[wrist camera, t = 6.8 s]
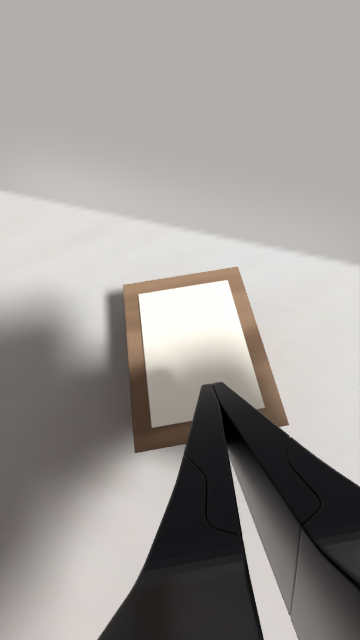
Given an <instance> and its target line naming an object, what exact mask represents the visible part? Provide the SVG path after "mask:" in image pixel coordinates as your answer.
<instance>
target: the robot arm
mask: <svg viewBox="0 0 360 640" xmlns="http://www.w3.org/2000/svg"><path fill="white" fill-rule="evenodd" d="M229 457H230V460H231V462H232V465H233V468H234V470H235V473H236V476H237V478H238V481H239V484H240V486H241V489H242V492H243V494H244V497H245V499H246V502H247V505H248V507H249V510H250V513H251V515H252V518H253V521H254V523H255V526H256V528H257V531H258V534H259V536H260V539H261V542H262V544H263V547H264V550H265V552H266V555H267V558H268V560H269V563H270V565H271V568H272V571H273V573H274V576H275V579H276V581H277V584H278V587H279V589H280V592H281V595H282V597H283V600H284V602H285V605H286V608H287V610H288V613H289V615H290V616H291V621H292V624H293V626H294V629H295V632H296V634H297V637H298V640H360V486H358V485H357V484H355V483H354V482H352V481H351V480H349V479H348V478H346V477H345V476H343V475H342V474H340V473H339V472H337V471H336V470H335V469H333V468H332V467H330V466H329V465H327V464H326V463H325V462H323V461H322V460H320V459H319V458H317V457H316V456H315V455H314V454H312V453H311V452H310V451H308V450H307V449H306V448H304V447H303V446H302V445H301V444H299V443H298V442H297V441H296V440H294V439H293V438H292V437H290V436H289V435H288V434H287V433H285V432H284V431H283V430H282V429H280V428H279V427H278V426H277V425H275V424H274V423H273V422H272V421H270V420H269V419H268V418H267V417H266V416H264V415H263V414H262V413H261V412H259V411H258V410H257V409H256V408H254V407H253V406H252V405H251V404H249V403H248V402H247V401H246V400H244V399H243V398H242V397H241V396H239V395H238V394H237V393H236V392H234V391H233V390H232V389H231V388H229V387H228V386H227V385H226V384H224V383H223V382H215V383H212V384H210V383H209V384H203V385H202V386H201V389H200V393H199V396H198V400H197V404H196V408H195V412H194V416H193V420H192V424H191V428H190V432H189V436H188V440H187V443H186V447H185V451H184V456H183V459H182V463H181V466H180V470H179V473H178V477H177V480H176V484H175V486H174V489H173V492H172V495H171V498H170V500H169V503H168V506H167V508H166V511H165V513H164V516H163V518H162V521H161V524H160V526H159V529H158V531H157V534H156V536H155V539H154V541H153V544H152V547H151V549H150V552H149V554H148V557H147V559H146V561H145V564H144V566H143V568H142V570H141V572H140V575H139V577H138V579H137V580H136V582H135V584H134V586H133V588H132V589H131V591H130V593H129V594H128V596H127V597H126V599H125V600H124V602H123V603H122V605H121V606H120V607H119V609H118V610H117V612H116V613H115V615H114V616H113V618H112V619H111V621H110V622H109V623H108V625H107V626H106V628H105V629H104V631H103V632H102V634H101V635H100V637H99V638H98V640H264V638H263V634H262V629H261V625H260V620H259V616H258V611H257V607H256V602H255V598H254V593H253V589H252V584H251V579H250V575H249V570H248V564H247V559H246V554H245V548H244V542H243V539H242V531H241V525H240V519H239V513H238V507H237V501H236V495H235V489H234V484H233V478H232V472H231V466H230V460H229Z"/></svg>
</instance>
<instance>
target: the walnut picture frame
mask: <svg viewBox="0 0 360 640" xmlns="http://www.w3.org/2000/svg"><path fill="white" fill-rule="evenodd" d="M123 290H124V304H125V319H126V333H127V347H128V362H129V376H130V390H131V404H132V419H133V433H134V447H135V453H137V452H143V451H148V450H154V449H160V448H165V447H171V446H176V445H182V444H186V443H187V440H188V436H189V432H190V428H191V424H192V420H193V416H194V412H195V408H196V404H197V400H198V396H199V393H200V389H201V386H202V385H203V384H209V383H210V384H212V383H215V382H223V383H224V384H226V385H227V386H228V387H229V388H231V389H232V390H233V391H234V392H236V393H237V394H238V395H239V396H241V397H242V398H243V399H244V400H246V401H247V402H248V403H249V404H251V405H252V406H253V407H254V408H256V409H257V410H258V411H259V412H261V413H262V414H263V415H264V416H266V417H267V418H268V419H269V420H270V421H272V422H273V423H274V424H275V425H277V426H278V427H281V426H287V425H289V423H288V420H287V417H286V414H285V411H284V408H283V405H282V402H281V399H280V396H279V392H278V389H277V386H276V383H275V380H274V377H273V374H272V371H271V368H270V365H269V362H268V358H267V355H266V352H265V349H264V346H263V343H262V340H261V337H260V334H259V331H258V327H257V324H256V321H255V318H254V315H253V312H252V309H251V306H250V303H249V300H248V297H247V293H246V290H245V287H244V284H243V281H242V278H241V275H240V272H239V269H238V267H233V268H227V269H221V270H215V271H208V272H202V273H196V274H189V275H183V276H177V277H171V278H164V279H158V280H152V281H146V282H139V283H133V284H127V285H123Z"/></svg>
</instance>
